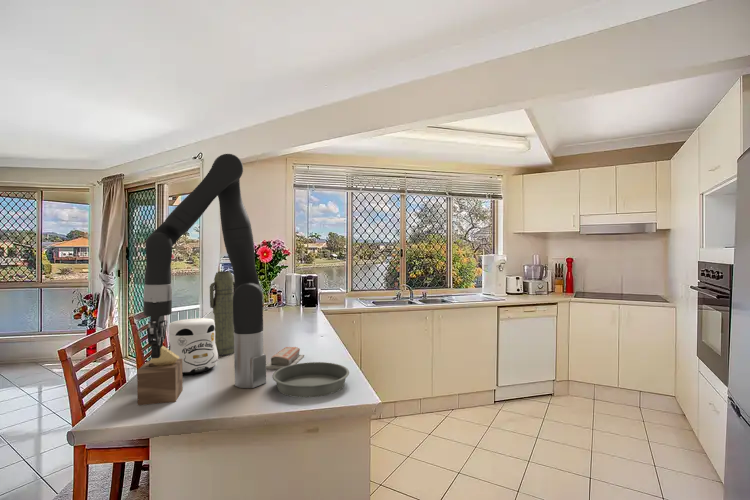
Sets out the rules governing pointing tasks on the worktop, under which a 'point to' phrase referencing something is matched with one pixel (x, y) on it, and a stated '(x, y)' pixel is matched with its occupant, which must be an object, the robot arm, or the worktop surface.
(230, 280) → the thermos
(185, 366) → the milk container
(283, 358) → the packaged product
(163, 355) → the token
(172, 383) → the brown wooden box
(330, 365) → the cake pan
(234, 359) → the robot arm
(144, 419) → the worktop surface
